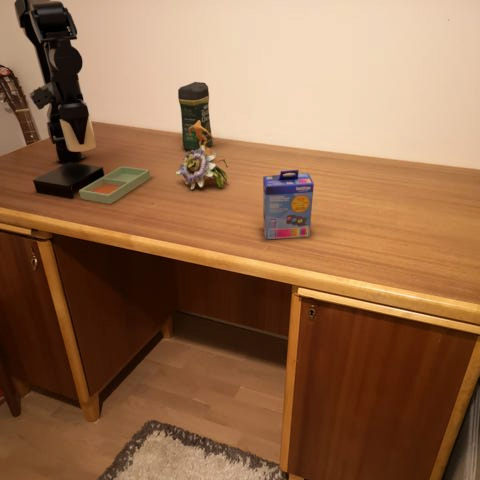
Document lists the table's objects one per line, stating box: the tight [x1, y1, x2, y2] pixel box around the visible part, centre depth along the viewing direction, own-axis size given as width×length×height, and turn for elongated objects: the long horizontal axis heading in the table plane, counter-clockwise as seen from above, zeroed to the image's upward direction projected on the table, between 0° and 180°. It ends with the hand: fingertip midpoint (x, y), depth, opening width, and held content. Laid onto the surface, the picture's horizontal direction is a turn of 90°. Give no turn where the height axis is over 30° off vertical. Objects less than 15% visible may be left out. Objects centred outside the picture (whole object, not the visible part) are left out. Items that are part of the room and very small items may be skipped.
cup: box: [60, 115, 97, 152], centre depth 113 cm, size 7×7×7 cm
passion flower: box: [175, 145, 229, 191], centre depth 121 cm, size 11×11×12 cm
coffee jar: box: [177, 81, 213, 152], centre depth 142 cm, size 10×8×19 cm
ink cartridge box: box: [262, 169, 315, 241], centre depth 96 cm, size 10×6×14 cm, turn 95°
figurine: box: [189, 120, 215, 155], centre depth 133 cm, size 8×6×12 cm
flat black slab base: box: [32, 162, 106, 200], centre depth 125 cm, size 14×12×4 cm
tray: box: [78, 165, 152, 205], centre depth 123 cm, size 18×9×2 cm, turn 155°
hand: (80, 140), depth 114 cm, fingers closed on cup, 7 cm apart
